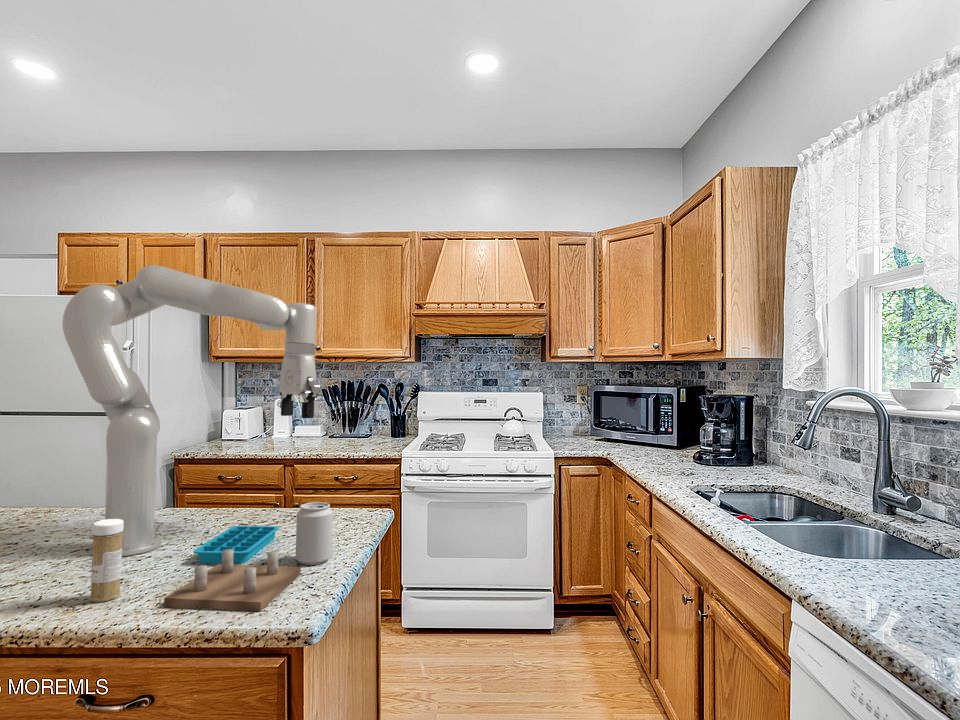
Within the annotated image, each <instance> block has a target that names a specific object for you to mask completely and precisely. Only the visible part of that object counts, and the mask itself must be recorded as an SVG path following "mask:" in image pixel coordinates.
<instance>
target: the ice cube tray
mask: <svg viewBox="0 0 960 720" xmlns="http://www.w3.org/2000/svg"><path fill="white" fill-rule="evenodd" d="M278 530H280V526H277V525H234V526H232V527H230V528H227V529H226V530H224V531H222V532H221V533H220V534H218V535H216V536H215V537H213V538H212V539H210V540H208V541H207V542H205V543H204V544H202V545H200V546H199V547H197V548H196V549H194V550H193V554H196V555H198V564H201V565H207V564H209V565H210V564H211V565H212V564H213V565H218V564H222V551H224V550H227V549H232V550H234V555H233V564H235V565H243V564H246V563H247V561H248V560H249V561H250V560H252V559H253V558H254V557H255V556H256V555H257V553H258V552H259V551H260V550H261V551H262V550H264V549H265V548H266V547H267V546H268V544H269V543H270V542H271V541H272V542H273V541H275V539H274V538H275V537H276V532H277V531H278ZM272 542H271V543H272ZM271 543H270V544H271ZM270 544H269V545H270ZM266 545H267V546H266ZM265 546H266V547H265ZM264 547H265V548H264ZM263 548H264V549H263ZM261 551H260V552H261ZM260 552H259V553H260ZM259 553H258V554H259ZM255 554H256V555H255ZM254 555H255V556H254ZM253 556H254V557H253ZM252 557H253V558H252ZM249 561H248V562H249ZM245 562H246V563H245ZM242 563H243V564H242Z"/></svg>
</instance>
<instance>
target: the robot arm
mask: <svg viewBox="0 0 960 720" xmlns="http://www.w3.org/2000/svg"><path fill="white" fill-rule="evenodd" d="M163 306H170V307H174V308H177V309H181V310H186V311H189V312H193V313H196V314H200V315H202V316H203V315H204V316H208V317H209V316H210V317H228V318H235V319H239V320H243V321H246V322H250V323H254V324H256V326H257V327H258V328H259V329H262V330H266V331H282V330H285V331H284V332H285V333H284V334H285V337H284V356H283V359H282V363H281V370H280V378H279V384H278V389H279V396H280V403H281V404H280V405H281V406H280V416H281V417H285V416H289V417H291V416H293V415H294V400H293V399H294V396H295V395H301V398H302V400H303V402H301V418H302V419H314V415H315V403H316V401H317V399H316V398H317V397H318V394H319V390H320V385H319V384H318V383H317V381H316V380H317V379H316V377H317V375H316V361H315V357H316V354H315V353H316V334H317V333H316V332H317V315H318V314H317V313H318V312H317V308H316V306H315V305H314V304H310V303H303V302H293V303H290V304H286V303H285V301H283V300H282V299H281V298H279V297H276V296H273V295H271V294H267V293H264V292H259V291H256V290H252V289H249V288H245V287H240V286H236V285H231V284H227V283H224V282H219V281H214V280H211V279H209V278H204V277H200V276H197V275H193V274H191V273H186V272H183V271H179V270H176V269H173V268H169V267H166V266H161V265H157V264H156V265H154V264H150V265H146V266H144V267H142V268H141V269H140V270H139V271H138V272H137V273H136V276H135V278H134V279H132V280H129V281H126V282H125V283H122V284H119V285H116V286H114V287H113V286H110V285H107V284H100V283H99V284H96V283H95V284H92V285H89V286H86V287H84V288H81V290H79V291H77V293H75V295H74V296H72V297H71V299H70V300H69V302H68V303H67V304H66V306H65V309H64V312H63V317H62V330H63V335H64V339H65V341H66V343H67V345H68V348H69V350H70V352H71V354H72V355H71V356H72V357H73V359H74V361H75V364H76V366H77V368H78V370H79V373H80V376H81V377H82V380H83V381H84V384H85V386H86V388H87V391H88V393H89V396H90V397H91V398H92V400H93V401H94V402H95V403H98V404H99V405H101V407H102V408H103V410H104V412H105V415H106V417H107V419H108V420H109V424H108V426H107V429H106V437H105V438H106V439H105V440H106V443H105V446H106V447H105V448H106V474H105V476H106V478H105V482H106V485H105V486H106V487H105V506H104V507H105V509H104V513H105V514H104V520H106V519H121V520H123V522H124V527H123V531H122V532H123V533H122V557H126V556H134V555H139V554H143V553H147V552H151V551H153V550H156V549H157V548H159V547H160V546H161V545H162V538H161V537H159V536H156V535H155V519H156V518H155V514H156V513H155V511H156V510H155V509H156V489H157V485H156V484H157V447H158V446H157V445H158V435H159V432H160V427H161V422H160V419H159V416H158V413H157V411H156V409H155V408H154V405H153V403H152V401H151V398H150V397H149V394H148V392H147V390H146V389H145V387H144V384H143V382H142V380H141V378H140V377H139V375H138V374H137V372H135V371H134V370H133V369H132V368H129V367H128V364H127V363H126V360H125V359H124V357H123V354H122V353H121V351H120V348H119V345H118V343H117V341H116V340H115V337H114V335H113V333H112V330H111V329H112V328H111V327H113V326H118V325H121V324H124V323H126V322H129V321H130V320H133V319H137V318H138V317H141V316H143V315H145V314H148V313H150V312H152V311H155V310H157V309H159V308H161V307H163ZM88 537H89V539H90V540H93V538H94V537H93V534H92V532H91V533H90V534H89V536H88Z"/></svg>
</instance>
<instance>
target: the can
mask: <svg viewBox="0 0 960 720" xmlns="http://www.w3.org/2000/svg"><path fill="white" fill-rule="evenodd" d="M330 506H331V504H330V503H329V502H321V501H315V502H306V503H302V504H301V505H300V506H299V508H300V509H299V510H298V512H297V513H296V528H295V529H296V530H295V531H296V532H295V535H296V537H295V560H296V561H298V563H300V564H301V565H304V564H305V565H304V566H315V565H316V566H317V565H320V564H324V563H326V562H328V561H329V559H330V558H331V557H332V555H333V529H334V528H333V527H334V526H333V525H334V524H333V522H334V511H333V510H332V509H331V507H330Z"/></svg>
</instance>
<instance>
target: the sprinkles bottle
mask: <svg viewBox="0 0 960 720" xmlns="http://www.w3.org/2000/svg"><path fill="white" fill-rule="evenodd" d="M123 527H124V522H123V520H121V519H106V520H105V519H102V520H98V521H96V522H94V523H93V524H92V532H91V533H92V534H93V537H94V538H93V539H92V540H93V542H92V543H93V544H92V555H91V556H92V557H91V575H90V583H91V585H90V595H89V601H91V602H93V603H103V602H108V601H111V600H114V599H117V598H119V596H121V591H120V588H121V587H120V586H121V584H120V583H121V575H122V560H123V559H122V557H123V556H122V533H123V532H122V531H123Z"/></svg>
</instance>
